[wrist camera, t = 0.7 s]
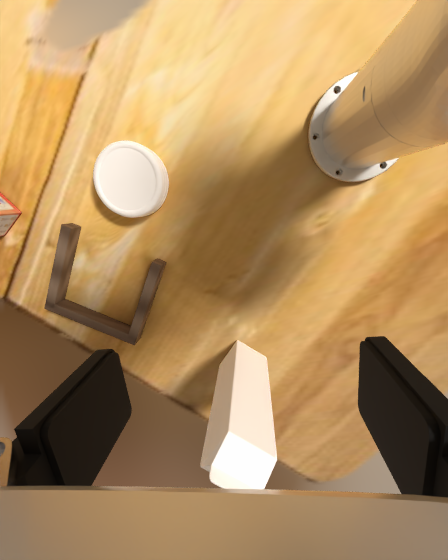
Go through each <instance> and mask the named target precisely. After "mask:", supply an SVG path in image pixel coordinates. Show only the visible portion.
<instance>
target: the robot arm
mask: <svg viewBox="0 0 448 560" xmlns="http://www.w3.org/2000/svg"><path fill="white" fill-rule="evenodd" d="M334 91H337V94H335V93H334ZM313 136H316V139H315V140H314V139H313ZM308 141H309V148H310V152H311V155H312V157H313V159H314V161H315V163H316V164H317V165H318V167H319V168H320V169H321V170H322V171H323V172H324V173H325V174H327V175H328V176H330V177H332V178H334V179H336V180H340V181H344V182H358V181H364V180H368V179H371V178H373V177H376V176H378V175H380V174H381V173H383V172H385V171H386V170H388V169H389V168H390V167H391V166H392V165H393V164H394V163H395V162H396V161H397V160H398V159H399V157H402V156H406V155H409V154H412V153H415V152H419V151H422V150H425V149H429V148H432V147H435V146H438V145H442V144H445V143H447V142H448V0H417V1H416V2H415V4H414V5H413V6H412V7H411V9H410V10H409V11H408V13H407V14H406V15H405V16H404V17H403V19H402V20H401V21H400V22H399V24H398V25H397V26H396V27H395V28H394V30H393V31H392V32H391V34H390V35H389V36H388V37H387V38H386V40H385V41H384V42H383V43H382V44H381V46H380V47H379V48H378V49H377V50H376V52H375V53H374V54H373V55H372V57H371V58H370V59H369V60H368V61H367V63H366V64H365V65H364V66H363V67H362V69H361V70H360V71H359V72H355V73H352V74H350V75H347V76H345V77H343V78H342V79H340V80H339V81H337V82H336V83H335V84H333V85H332V86H331V87H330V88H329V89H328V90H327V91H326V92H325V94H324V95H323V96H322V98H321V99H320V100H319V102H318V104H317V105H316V107H315V109H314V112H313V114H312V116H311V120H310V124H309V131H308ZM380 164H381V165H382V167H381V168H380ZM336 171H338V172H339V174H338V175H337V174H336ZM358 407H359V411H360V414H361V416H362V418H363V420H364V422H365V424H366V426H367V428H368V430H369V432H370V434H371V435H372V437H373V439H374V441H375V443H376V445H377V447H378V449H379V451H380V453H381V455H382V457H383V459H384V461H385V463H386V464H387V467H388V468H389V470H390V472H391V474H392V476H393V478H394V480H395V482H396V484H397V485H398V488H399V490H400V492H401V494H386V493H363V492H337V491H303V490H267V489H266V490H265V489H226V488H178V487H122V486H119V487H117V486H91V485H92V483H93V482H94V480H95V478H96V476H97V474H98V473H99V471H100V469H101V467H102V466H103V464H104V462H105V460H106V459H107V457H108V455H109V453H110V452H111V450H112V448H113V446H114V444H115V443H116V441H117V439H118V437H119V436H120V433H121V432H122V430H123V429H124V427H125V425H126V423H127V421H128V420H129V418H130V416H131V404H130V400H129V396H128V392H127V388H126V383H125V379H124V375H123V371H122V367H121V363H120V358H119V355H118V353H116V352H115V351H114V350H112V349H103V350H97V351H95V352H94V353H93V354H92V355H91V356H90V357H89V358H88V359H87V360H86V361H85V362H84V363H83V364H82V365H81V366H80V367H79V368H78V369H77V370H75V371H74V372H73V374H71V375H70V376H69V377H68V378H67V379H66V380H65V381H64V382H63V383H62V384H61V385H60V386H59V387H58V388H57V389H56V390H55V391H54V392H53V393H51V394H50V395H49V396H48V397H47V398H46V399H45V400H44V401H43V402H42V403H41V404H40V405H39V406H38V407H37V408H36V409H35V410H34V411H33V412H32V413H31V414H30V415H28V416H27V417H26V418H25V419H24V420H23V421H22V422H21V423H20V424H19V425H18V426H17V427H16V428H15V429H14V430H15V432H16V435H17V438H16V439H15V440H14V441H13V442H12V441H11V440H10V439H9V438H4V437H1V438H0V560H448V399H447V398H446V397H445V396H444V395H443V394H442V393H441V392H440V391H439V390H438V389H437V388H436V387H435V386H434V385H433V384H432V383H431V382H430V381H429V380H428V379H427V378H426V377H425V376H424V375H423V374H422V373H421V372H420V371H419V370H418V369H417V368H416V367H415V366H414V365H413V364H412V363H411V362H410V361H409V360H408V359H407V358H406V357H405V356H404V355H403V354H402V353H401V352H400V351H399V350H398V349H397V348H396V347H395V346H394V345H393V344H392V343H391V342H390V341H389V340H388V339H387V338H386V337H384V336H380V337H366V339H365V341H362V342H361V343H360V360H359V388H358Z"/></svg>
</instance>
